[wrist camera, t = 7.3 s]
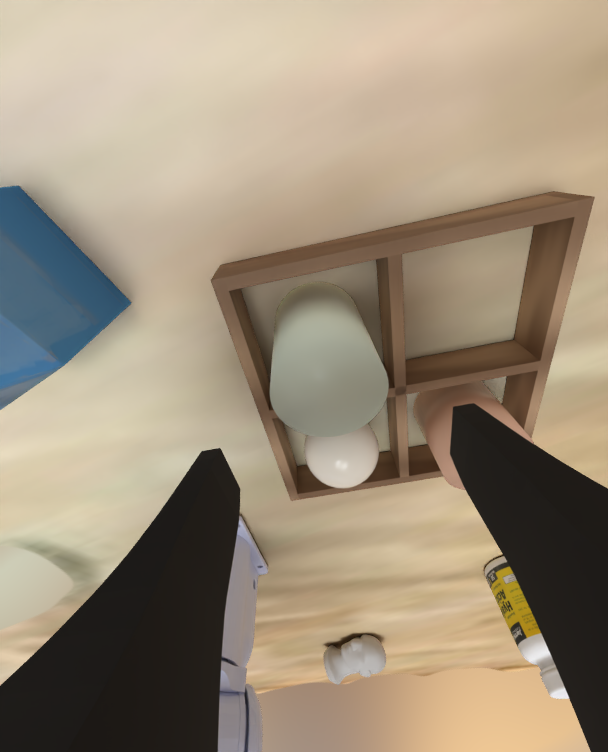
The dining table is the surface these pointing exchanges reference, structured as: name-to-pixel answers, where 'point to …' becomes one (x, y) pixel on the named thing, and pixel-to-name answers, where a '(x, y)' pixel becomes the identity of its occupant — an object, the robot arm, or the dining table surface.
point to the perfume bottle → (44, 296)
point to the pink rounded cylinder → (437, 420)
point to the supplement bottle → (523, 624)
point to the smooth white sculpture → (355, 658)
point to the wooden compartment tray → (510, 358)
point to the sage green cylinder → (324, 363)
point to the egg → (343, 457)
